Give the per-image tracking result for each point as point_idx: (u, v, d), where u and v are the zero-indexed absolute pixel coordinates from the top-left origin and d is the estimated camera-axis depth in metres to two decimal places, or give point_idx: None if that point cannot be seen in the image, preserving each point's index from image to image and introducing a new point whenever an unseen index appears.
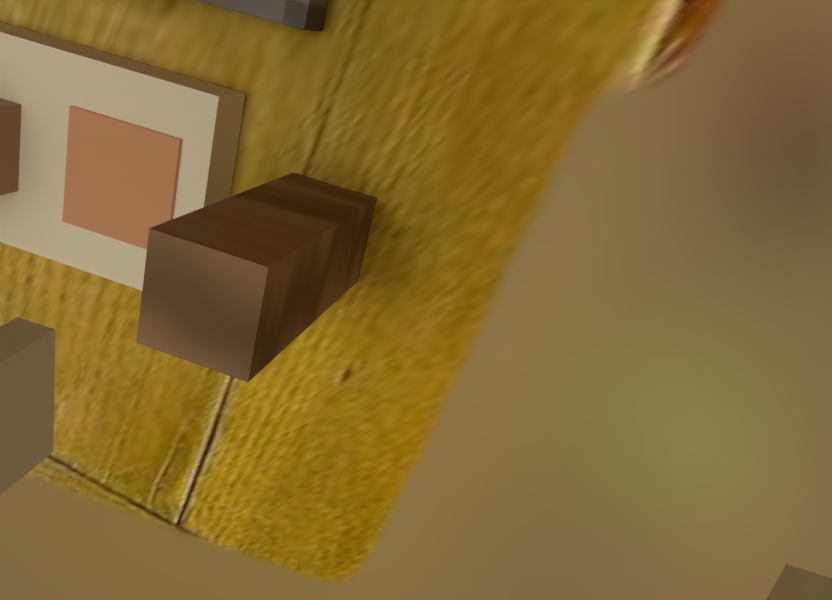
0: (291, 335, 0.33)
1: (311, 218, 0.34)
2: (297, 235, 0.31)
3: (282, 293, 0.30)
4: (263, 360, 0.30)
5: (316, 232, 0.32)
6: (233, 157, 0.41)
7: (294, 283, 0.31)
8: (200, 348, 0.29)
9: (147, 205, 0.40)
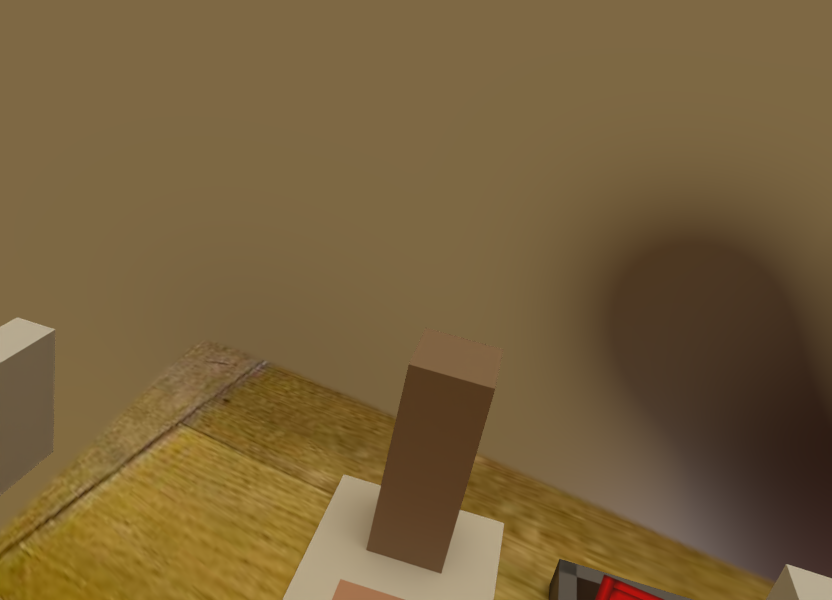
0: None
1: None
2: None
3: None
4: None
5: None
6: None
7: None
8: None
9: None
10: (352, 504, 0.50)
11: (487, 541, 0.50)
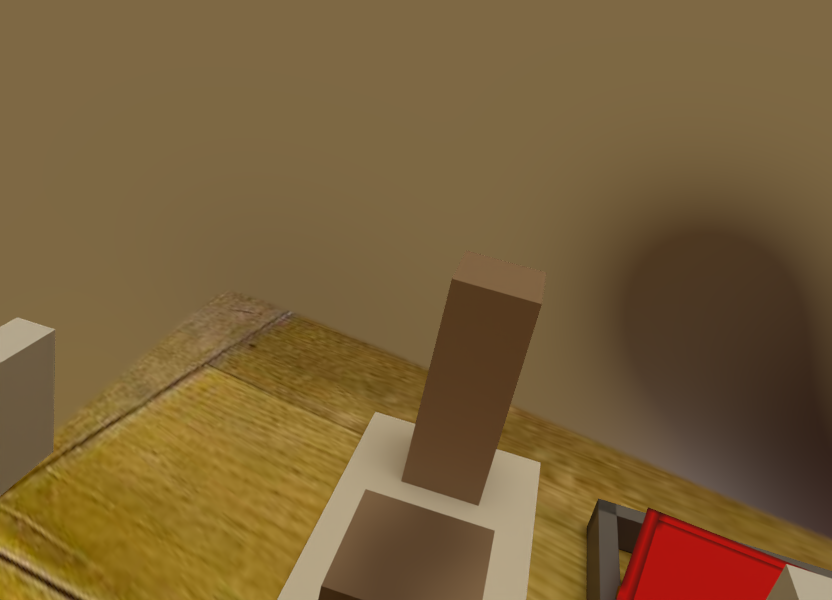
0: None
1: None
2: None
3: None
4: None
5: None
6: None
7: None
8: (363, 545, 0.25)
9: None
10: (385, 439, 0.49)
11: (524, 478, 0.48)
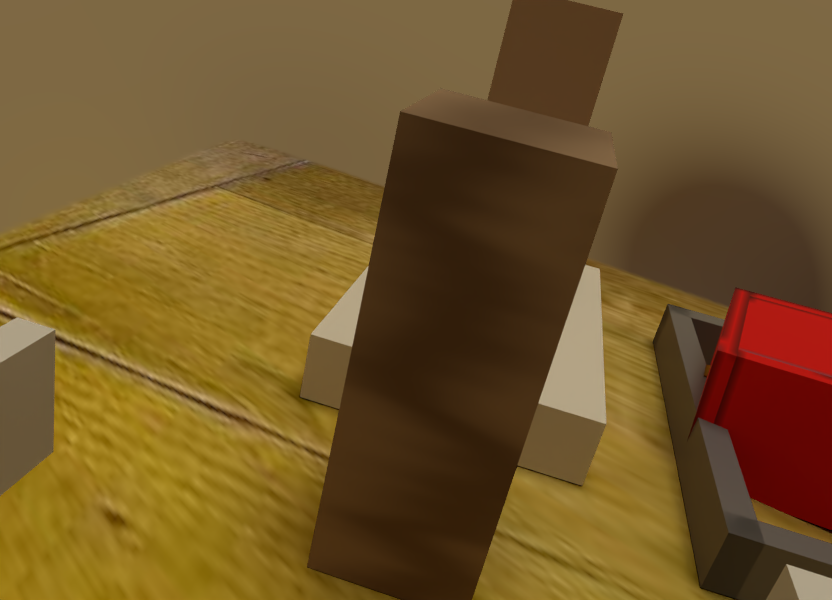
0: (381, 283, 0.18)
1: None
2: None
3: (515, 231, 0.17)
4: (405, 171, 0.17)
5: (546, 376, 0.18)
6: None
7: (504, 279, 0.17)
8: (449, 107, 0.18)
9: None
10: None
11: (584, 277, 0.42)
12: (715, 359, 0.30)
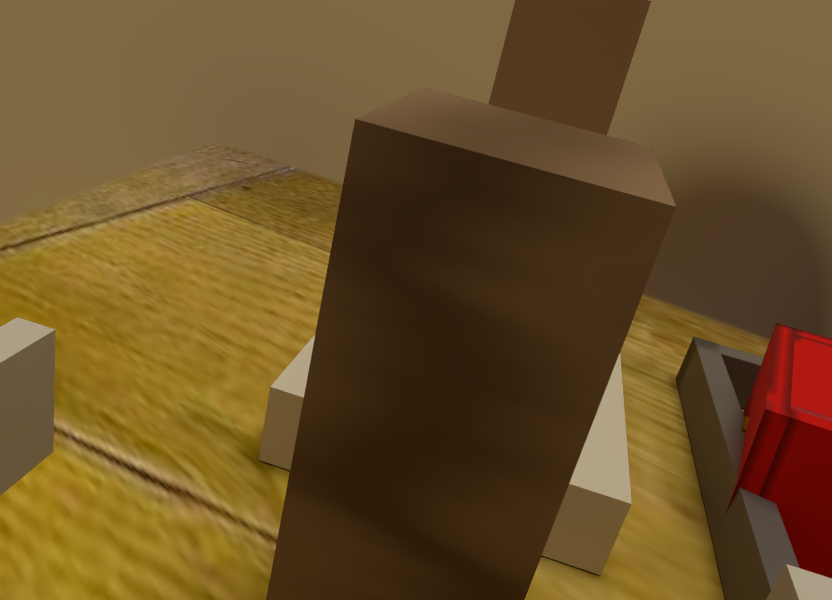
0: (333, 359, 0.13)
1: None
2: None
3: (522, 293, 0.12)
4: (363, 205, 0.12)
5: (564, 490, 0.13)
6: None
7: (506, 360, 0.12)
8: (430, 113, 0.13)
9: None
10: None
11: None
12: (762, 420, 0.25)
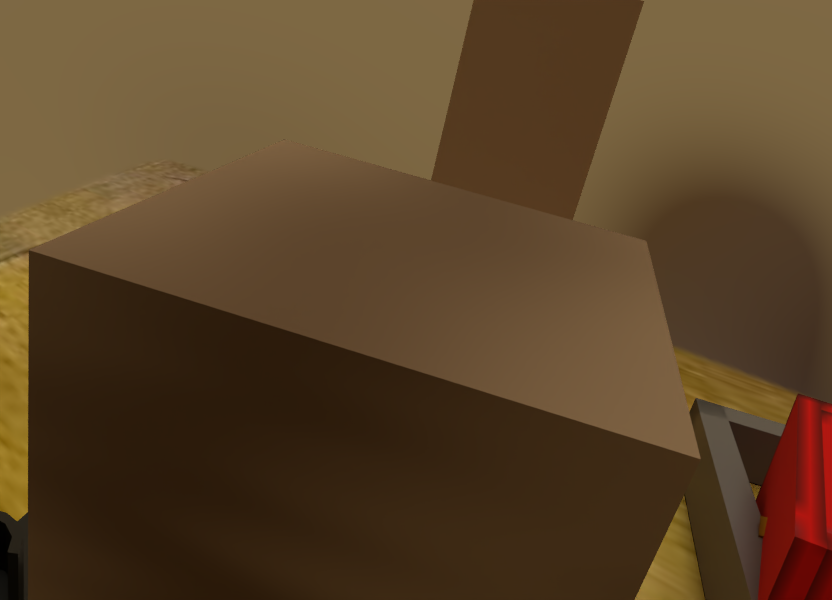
0: None
1: None
2: None
3: (389, 589, 0.06)
4: (72, 411, 0.06)
5: None
6: None
7: None
8: (249, 204, 0.07)
9: None
10: None
11: None
12: (791, 550, 0.19)
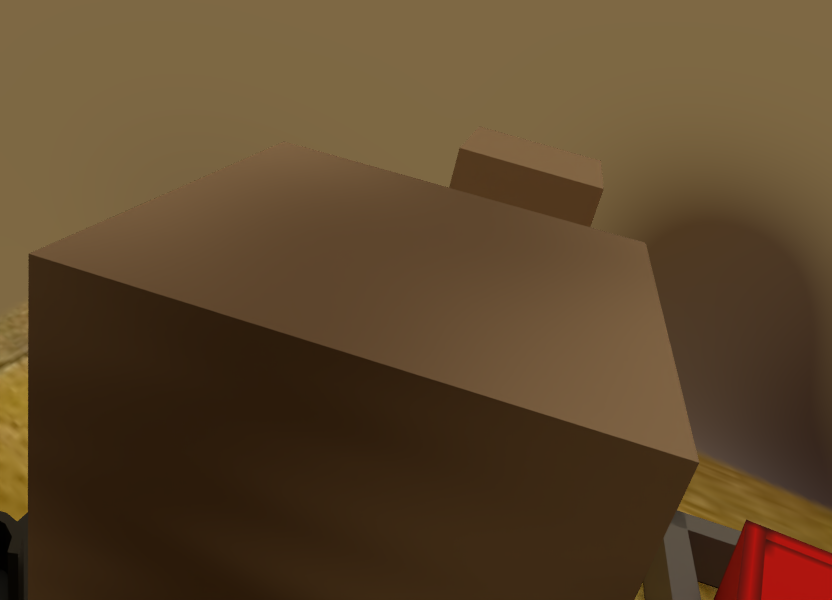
0: None
1: None
2: None
3: (388, 592, 0.06)
4: (72, 413, 0.06)
5: None
6: None
7: None
8: (249, 206, 0.07)
9: None
10: None
11: None
12: None
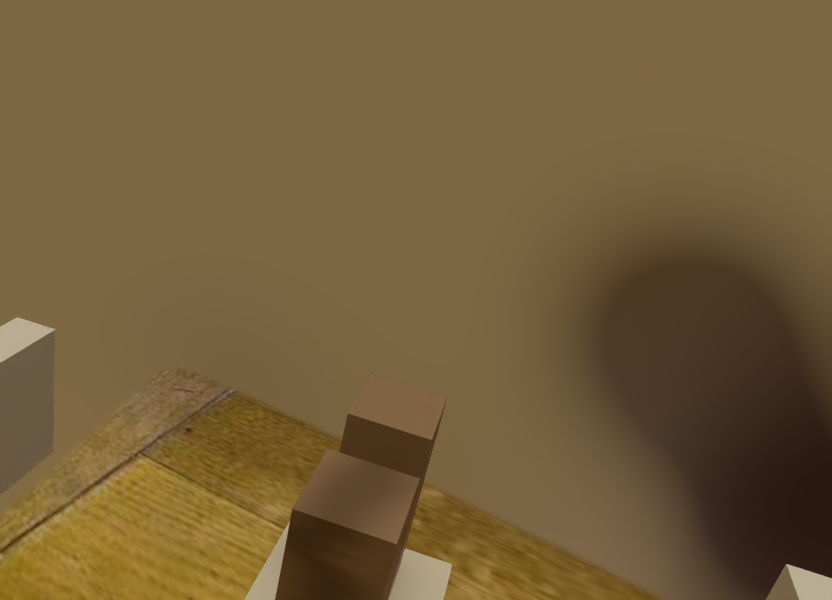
0: (287, 579, 0.35)
1: None
2: None
3: (351, 564, 0.34)
4: (296, 533, 0.34)
5: None
6: None
7: (348, 584, 0.34)
8: (323, 485, 0.35)
9: None
10: None
11: (433, 583, 0.50)
12: None
